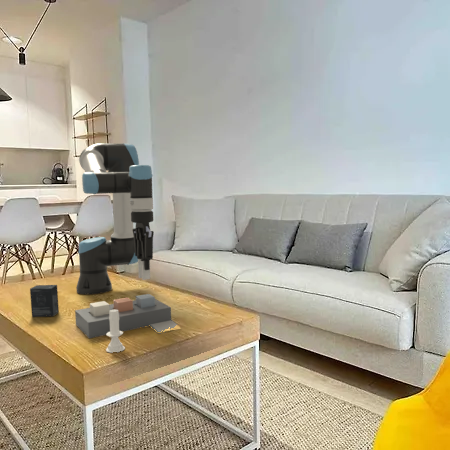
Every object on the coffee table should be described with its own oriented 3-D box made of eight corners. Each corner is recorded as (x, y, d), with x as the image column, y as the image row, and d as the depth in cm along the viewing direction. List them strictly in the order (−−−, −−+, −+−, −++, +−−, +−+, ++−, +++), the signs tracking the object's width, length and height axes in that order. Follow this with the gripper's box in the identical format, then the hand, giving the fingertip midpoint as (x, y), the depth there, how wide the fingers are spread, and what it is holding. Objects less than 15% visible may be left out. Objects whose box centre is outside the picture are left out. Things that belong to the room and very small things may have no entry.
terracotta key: (113, 311, 150) (113, 299, 149) (127, 308, 152) (127, 297, 152) (118, 314, 145) (118, 302, 145) (133, 312, 148) (132, 300, 148)
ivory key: (90, 315, 145) (89, 303, 145) (105, 312, 148) (104, 301, 148) (94, 319, 141) (94, 307, 141) (109, 316, 144) (109, 304, 143)
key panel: (75, 324, 148) (75, 310, 148) (152, 310, 163) (152, 297, 163) (88, 338, 135) (88, 322, 135) (171, 321, 150) (170, 307, 149)
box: (59, 312, 163) (57, 284, 162) (53, 316, 158) (51, 288, 157) (38, 312, 163) (36, 284, 162) (31, 317, 158) (29, 288, 157)
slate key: (136, 307, 154) (135, 296, 153) (149, 304, 157) (149, 293, 156) (141, 310, 150) (141, 299, 149) (155, 308, 152) (154, 296, 152)
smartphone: (158, 332, 138) (143, 318, 151) (158, 335, 138) (143, 321, 151) (182, 328, 142) (166, 315, 155) (182, 331, 142) (166, 317, 155)
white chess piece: (102, 352, 124) (100, 311, 122) (110, 345, 129) (108, 305, 128) (120, 353, 123) (118, 311, 121) (127, 346, 128) (126, 306, 127)
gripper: (123, 210, 154) (126, 275, 157) (140, 212, 141) (142, 283, 143) (143, 209, 158) (145, 273, 161) (161, 211, 145) (163, 280, 148)
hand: (144, 278), depth 152 cm, fingers open, 3 cm apart
